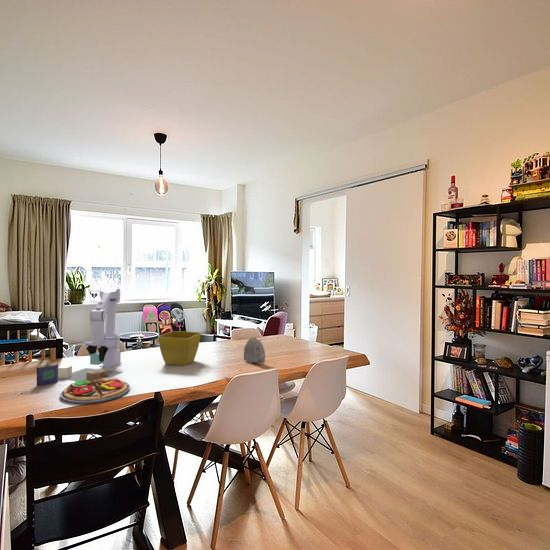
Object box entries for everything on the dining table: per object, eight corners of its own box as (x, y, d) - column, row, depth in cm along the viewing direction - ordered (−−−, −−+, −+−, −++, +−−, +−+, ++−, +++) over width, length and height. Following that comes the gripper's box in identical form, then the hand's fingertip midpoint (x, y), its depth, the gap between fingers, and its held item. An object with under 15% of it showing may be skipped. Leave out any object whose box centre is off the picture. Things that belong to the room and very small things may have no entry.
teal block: (96, 362, 185) (96, 352, 185) (104, 362, 184) (104, 352, 184) (90, 364, 180) (90, 354, 180) (97, 365, 179) (97, 354, 179)
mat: (85, 368, 199) (85, 368, 199) (123, 372, 192) (123, 371, 192) (55, 379, 179) (55, 378, 179) (95, 383, 173) (95, 383, 173)
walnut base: (96, 374, 187) (96, 368, 187) (108, 375, 185) (108, 370, 185) (86, 378, 180) (86, 372, 180) (98, 379, 178) (98, 373, 178)
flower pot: (187, 368, 203) (188, 338, 202) (156, 365, 207) (157, 336, 206) (201, 359, 221) (201, 332, 221) (172, 357, 225) (172, 330, 225)
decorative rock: (242, 360, 221) (242, 336, 220) (251, 359, 224) (252, 335, 224) (257, 366, 207) (257, 340, 207) (266, 365, 211) (267, 339, 211)
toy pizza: (64, 409, 142) (64, 398, 142) (57, 389, 164) (57, 379, 164) (137, 395, 158) (137, 385, 158) (121, 378, 180) (121, 370, 180)
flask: (56, 381, 176) (56, 359, 176) (59, 382, 175) (59, 360, 174) (35, 386, 169) (35, 363, 169) (38, 387, 167) (38, 364, 167)
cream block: (63, 375, 185) (63, 365, 185) (71, 375, 185) (71, 365, 185) (57, 377, 180) (57, 367, 180) (66, 378, 180) (66, 368, 180)
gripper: (79, 334, 180) (79, 361, 180) (104, 336, 176) (104, 363, 176) (90, 331, 187) (90, 358, 187) (114, 333, 183) (114, 360, 183)
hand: (97, 360), depth 182 cm, fingers closed on teal block, 4 cm apart
